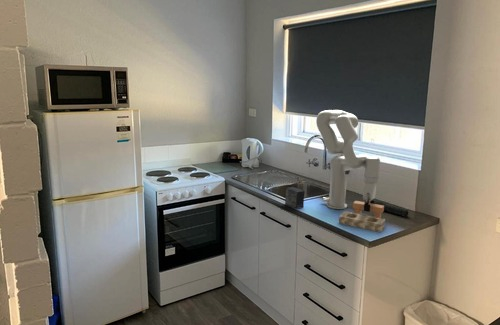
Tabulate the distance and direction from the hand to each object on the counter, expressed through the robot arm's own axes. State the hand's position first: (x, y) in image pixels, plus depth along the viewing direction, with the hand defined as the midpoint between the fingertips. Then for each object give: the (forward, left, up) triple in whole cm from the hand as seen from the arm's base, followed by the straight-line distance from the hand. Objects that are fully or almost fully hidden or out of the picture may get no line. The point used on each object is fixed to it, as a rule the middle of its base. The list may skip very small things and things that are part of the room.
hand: (368, 208), depth 215 cm
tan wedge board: (0, 0, -5) cm, 5 cm away
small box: (-43, -4, -6) cm, 44 cm away
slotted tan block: (0, -13, -5) cm, 14 cm away
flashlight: (+9, +18, -6) cm, 21 cm away
